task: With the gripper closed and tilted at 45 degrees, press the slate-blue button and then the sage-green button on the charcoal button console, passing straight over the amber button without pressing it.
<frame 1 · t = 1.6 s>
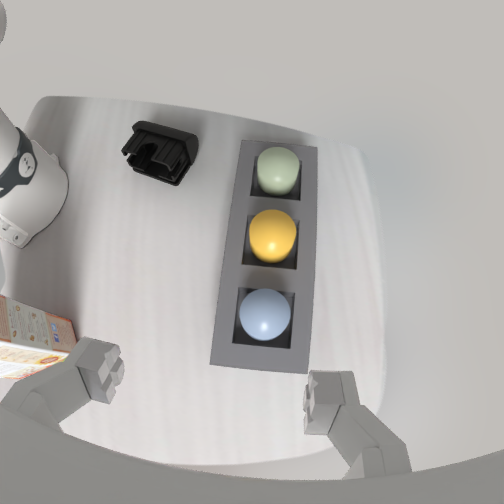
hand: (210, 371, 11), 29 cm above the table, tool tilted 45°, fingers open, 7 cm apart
cracker box: (43, 350, 39), on the table
amber button: (272, 236, 34), point 9 cm above the table, slide at 0.0 cm
slate button: (264, 315, 31), point 9 cm above the table, slide at 0.0 cm
end cap: (165, 162, 49), on the table
button console: (268, 263, 43), on the table
sage button: (277, 171, 37), point 9 cm above the table, slide at 0.0 cm
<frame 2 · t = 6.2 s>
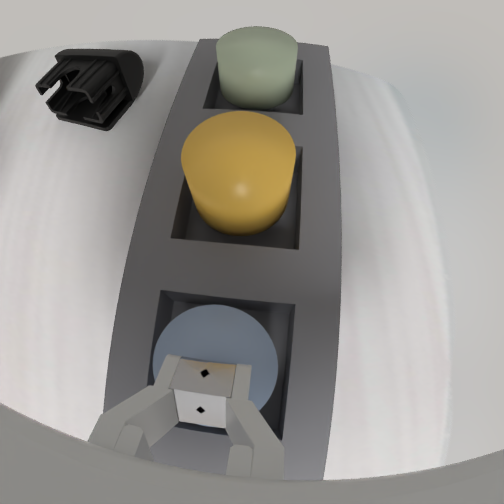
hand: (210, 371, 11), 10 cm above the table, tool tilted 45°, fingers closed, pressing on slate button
amber button: (239, 173, 14), point 9 cm above the table, slide at 0.0 cm
slate button: (218, 366, 13), point 8 cm above the table, slide at 1.6 cm, touching gripper
end cap: (100, 103, 30), on the table
button console: (245, 246, 23), on the table
sage button: (256, 65, 17), point 9 cm above the table, slide at 0.0 cm
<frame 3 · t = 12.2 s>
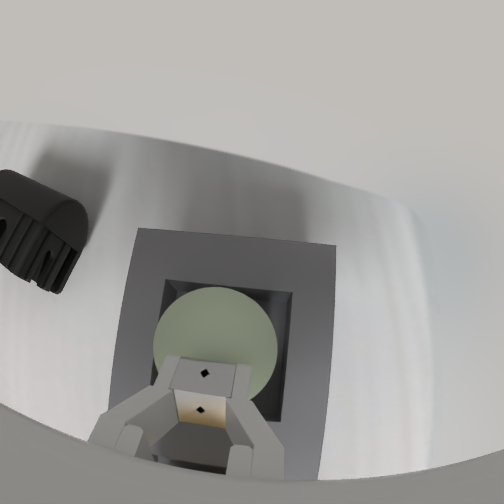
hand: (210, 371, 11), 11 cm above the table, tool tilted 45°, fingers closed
end cap: (47, 241, 25), on the table
button console: (219, 468, 18), on the table
sage button: (218, 350, 13), point 8 cm above the table, slide at 0.9 cm
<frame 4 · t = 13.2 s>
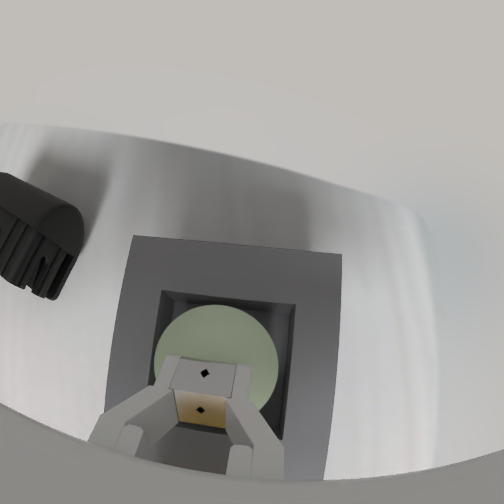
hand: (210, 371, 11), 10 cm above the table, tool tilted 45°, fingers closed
end cap: (43, 245, 24), on the table
button console: (219, 480, 17), on the table
sage button: (219, 366, 13), point 8 cm above the table, slide at 1.6 cm
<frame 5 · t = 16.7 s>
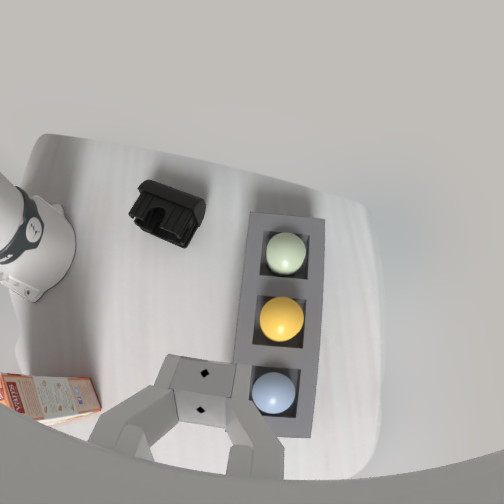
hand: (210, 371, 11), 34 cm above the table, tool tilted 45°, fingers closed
cracker box: (64, 403, 40), on the table
amber button: (280, 320, 36), point 9 cm above the table, slide at 0.0 cm
slate button: (272, 392, 35), point 8 cm above the table, slide at 1.6 cm
end cap: (172, 221, 51), on the table
button console: (275, 329, 45), on the table
sage button: (285, 255, 41), point 8 cm above the table, slide at 1.6 cm
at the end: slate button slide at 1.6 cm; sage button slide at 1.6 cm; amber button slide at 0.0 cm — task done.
